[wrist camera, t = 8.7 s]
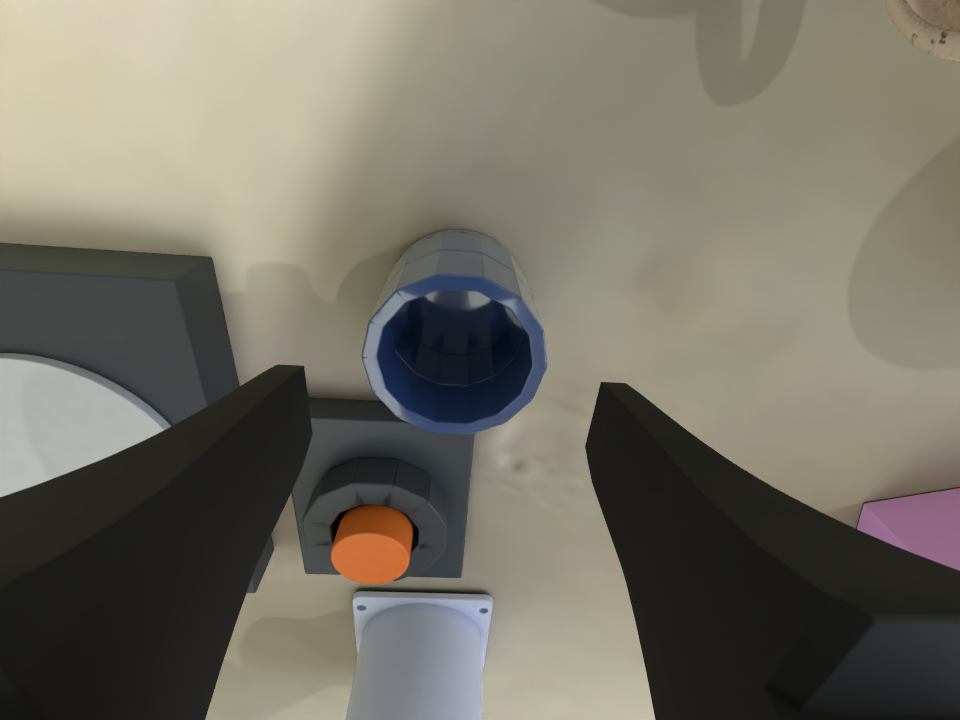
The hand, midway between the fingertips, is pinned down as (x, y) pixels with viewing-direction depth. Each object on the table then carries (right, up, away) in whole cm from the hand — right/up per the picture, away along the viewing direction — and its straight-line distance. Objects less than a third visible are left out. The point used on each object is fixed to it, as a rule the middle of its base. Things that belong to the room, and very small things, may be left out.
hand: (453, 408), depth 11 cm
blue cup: (0, +4, +6) cm, 7 cm away
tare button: (-4, -6, +9) cm, 12 cm away
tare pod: (-4, -5, +11) cm, 13 cm away
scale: (-16, -2, +9) cm, 18 cm away
